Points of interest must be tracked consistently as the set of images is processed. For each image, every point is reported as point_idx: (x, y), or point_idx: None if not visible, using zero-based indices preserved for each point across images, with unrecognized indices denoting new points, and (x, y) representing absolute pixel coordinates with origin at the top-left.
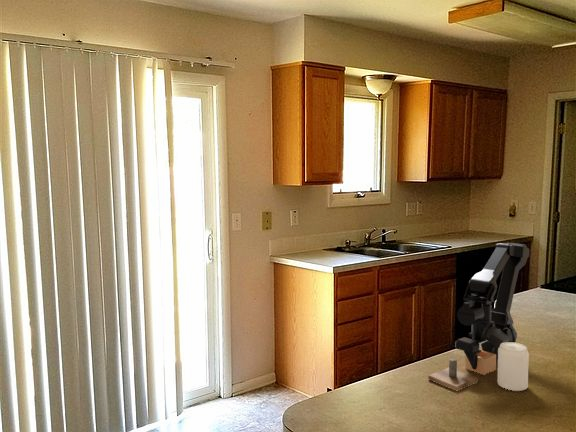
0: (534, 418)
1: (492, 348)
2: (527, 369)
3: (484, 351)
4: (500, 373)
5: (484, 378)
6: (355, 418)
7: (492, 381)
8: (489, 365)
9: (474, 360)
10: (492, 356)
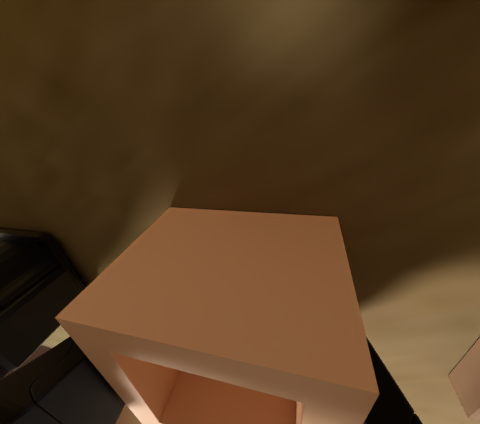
0: None
1: (15, 416)
2: None
3: (130, 397)
4: None
5: (412, 176)
6: None
7: (453, 62)
8: (237, 254)
9: (408, 417)
10: (133, 327)
